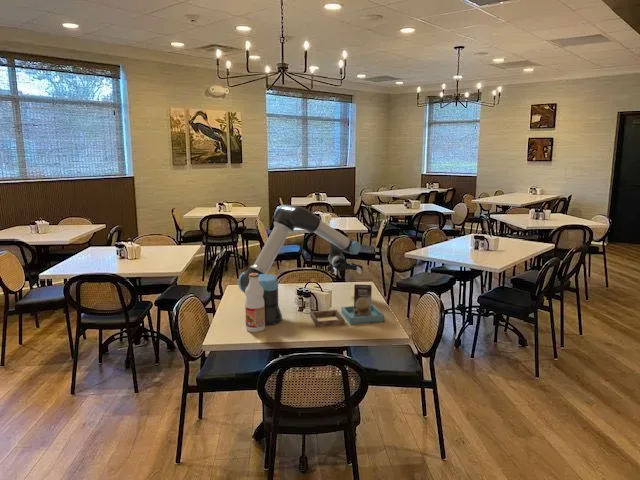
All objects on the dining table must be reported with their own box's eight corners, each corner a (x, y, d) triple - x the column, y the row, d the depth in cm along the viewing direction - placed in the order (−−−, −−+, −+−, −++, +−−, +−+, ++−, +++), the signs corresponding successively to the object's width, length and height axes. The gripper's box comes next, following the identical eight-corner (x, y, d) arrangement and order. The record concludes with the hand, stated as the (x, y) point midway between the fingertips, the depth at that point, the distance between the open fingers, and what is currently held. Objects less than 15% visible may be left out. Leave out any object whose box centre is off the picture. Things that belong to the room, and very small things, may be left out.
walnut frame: (316, 326, 248) (316, 322, 247) (310, 316, 264) (310, 311, 263) (344, 324, 251) (344, 319, 250) (336, 314, 266) (336, 309, 266)
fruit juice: (265, 332, 242) (263, 276, 236) (245, 332, 241) (243, 276, 236) (265, 325, 251) (263, 271, 246) (246, 326, 250) (244, 271, 245)
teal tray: (350, 324, 251) (350, 318, 250) (341, 313, 268) (341, 307, 267) (384, 321, 254) (384, 315, 254) (373, 310, 272) (373, 304, 271)
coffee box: (353, 317, 258) (353, 287, 255) (353, 313, 264) (353, 284, 261) (371, 317, 257) (371, 287, 254) (371, 313, 264) (371, 284, 261)
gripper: (359, 269, 294) (370, 277, 273) (318, 270, 289) (325, 279, 269) (360, 256, 293) (370, 264, 272) (318, 257, 288) (326, 265, 267)
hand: (348, 272), depth 270 cm, fingers open, 13 cm apart
